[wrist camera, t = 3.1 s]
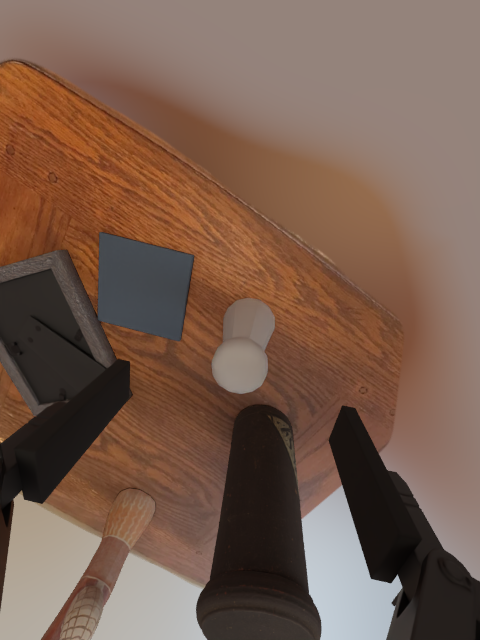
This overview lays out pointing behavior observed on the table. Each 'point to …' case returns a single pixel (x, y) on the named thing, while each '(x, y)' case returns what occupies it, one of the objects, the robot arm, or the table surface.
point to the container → (259, 540)
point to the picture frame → (49, 331)
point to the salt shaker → (244, 346)
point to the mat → (143, 286)
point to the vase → (103, 567)
